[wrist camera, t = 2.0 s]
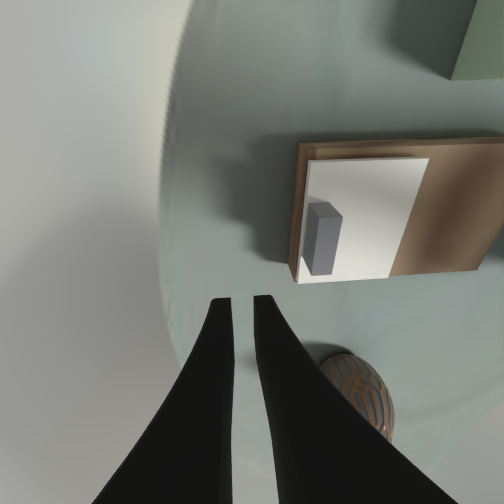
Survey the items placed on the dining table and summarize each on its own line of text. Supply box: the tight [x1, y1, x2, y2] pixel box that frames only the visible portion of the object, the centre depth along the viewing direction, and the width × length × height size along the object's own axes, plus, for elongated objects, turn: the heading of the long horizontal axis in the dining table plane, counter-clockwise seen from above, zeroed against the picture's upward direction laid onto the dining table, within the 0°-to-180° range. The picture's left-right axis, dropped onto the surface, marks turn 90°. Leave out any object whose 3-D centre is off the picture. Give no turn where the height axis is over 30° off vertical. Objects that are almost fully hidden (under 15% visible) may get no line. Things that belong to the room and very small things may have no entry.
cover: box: [296, 157, 429, 284], centre depth 15 cm, size 6×8×2 cm
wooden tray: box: [288, 136, 504, 282], centre depth 17 cm, size 14×9×2 cm, turn 90°
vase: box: [319, 354, 395, 443], centre depth 24 cm, size 7×7×9 cm
